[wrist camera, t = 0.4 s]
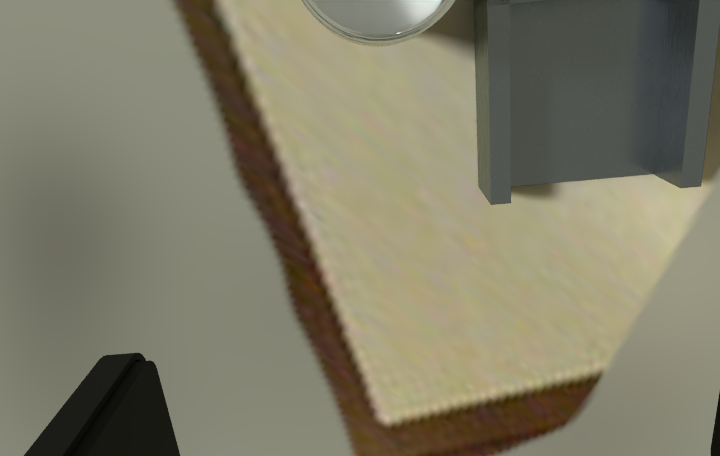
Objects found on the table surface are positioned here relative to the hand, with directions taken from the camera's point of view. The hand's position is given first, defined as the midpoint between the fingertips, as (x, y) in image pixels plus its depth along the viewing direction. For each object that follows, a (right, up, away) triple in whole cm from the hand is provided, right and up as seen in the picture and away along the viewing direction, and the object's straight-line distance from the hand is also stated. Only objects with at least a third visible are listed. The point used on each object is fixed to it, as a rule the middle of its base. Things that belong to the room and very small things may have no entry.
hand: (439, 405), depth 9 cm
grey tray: (+12, +12, +26) cm, 31 cm away
